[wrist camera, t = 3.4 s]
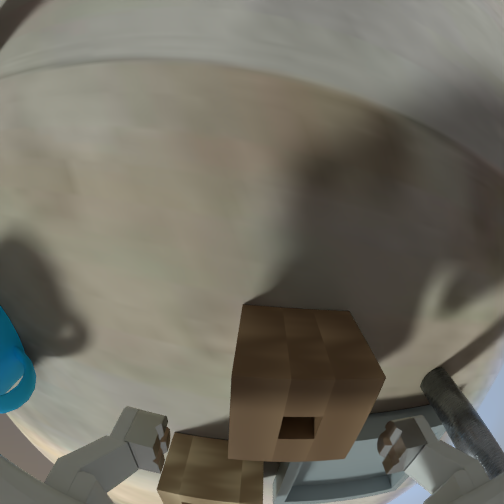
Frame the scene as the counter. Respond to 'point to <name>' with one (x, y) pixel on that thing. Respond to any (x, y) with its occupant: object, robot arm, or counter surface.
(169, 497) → the block
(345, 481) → the tray
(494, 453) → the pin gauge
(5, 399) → the mug
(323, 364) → the block
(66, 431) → the counter surface
